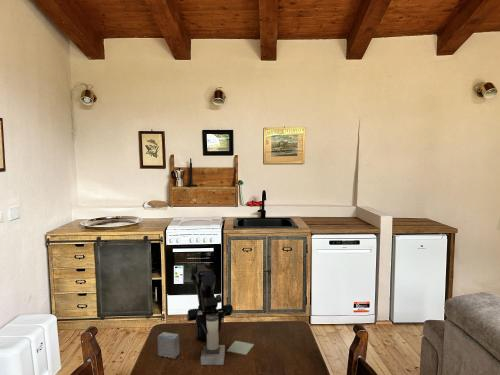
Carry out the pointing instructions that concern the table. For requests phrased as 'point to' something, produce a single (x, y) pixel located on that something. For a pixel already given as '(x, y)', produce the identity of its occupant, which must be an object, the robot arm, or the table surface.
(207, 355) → the housing
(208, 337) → the plug
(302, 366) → the table surface
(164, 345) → the medicine box
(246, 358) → the table surface
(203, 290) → the robot arm
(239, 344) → the mat
